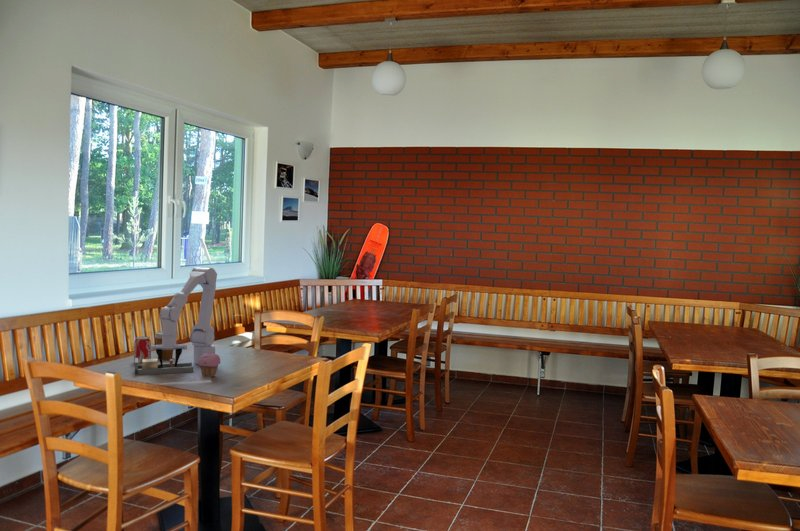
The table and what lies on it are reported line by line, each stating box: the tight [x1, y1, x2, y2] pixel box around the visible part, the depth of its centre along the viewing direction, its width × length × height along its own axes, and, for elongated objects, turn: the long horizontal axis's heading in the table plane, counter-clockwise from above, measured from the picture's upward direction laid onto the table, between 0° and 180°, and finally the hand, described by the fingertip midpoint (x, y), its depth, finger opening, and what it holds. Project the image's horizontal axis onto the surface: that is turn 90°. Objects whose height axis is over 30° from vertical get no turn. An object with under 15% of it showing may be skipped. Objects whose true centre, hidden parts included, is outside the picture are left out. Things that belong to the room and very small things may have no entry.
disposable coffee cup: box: [154, 331, 174, 360], centre depth 309 cm, size 10×10×12 cm
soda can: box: [133, 336, 152, 365], centre depth 296 cm, size 7×7×12 cm
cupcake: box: [198, 353, 221, 378], centre depth 276 cm, size 9×9×10 cm
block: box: [141, 358, 174, 369], centre depth 279 cm, size 12×6×4 cm, turn 112°
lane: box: [134, 358, 194, 376], centre depth 280 cm, size 23×10×6 cm, turn 112°
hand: (168, 366), depth 281 cm, fingers open, 5 cm apart
